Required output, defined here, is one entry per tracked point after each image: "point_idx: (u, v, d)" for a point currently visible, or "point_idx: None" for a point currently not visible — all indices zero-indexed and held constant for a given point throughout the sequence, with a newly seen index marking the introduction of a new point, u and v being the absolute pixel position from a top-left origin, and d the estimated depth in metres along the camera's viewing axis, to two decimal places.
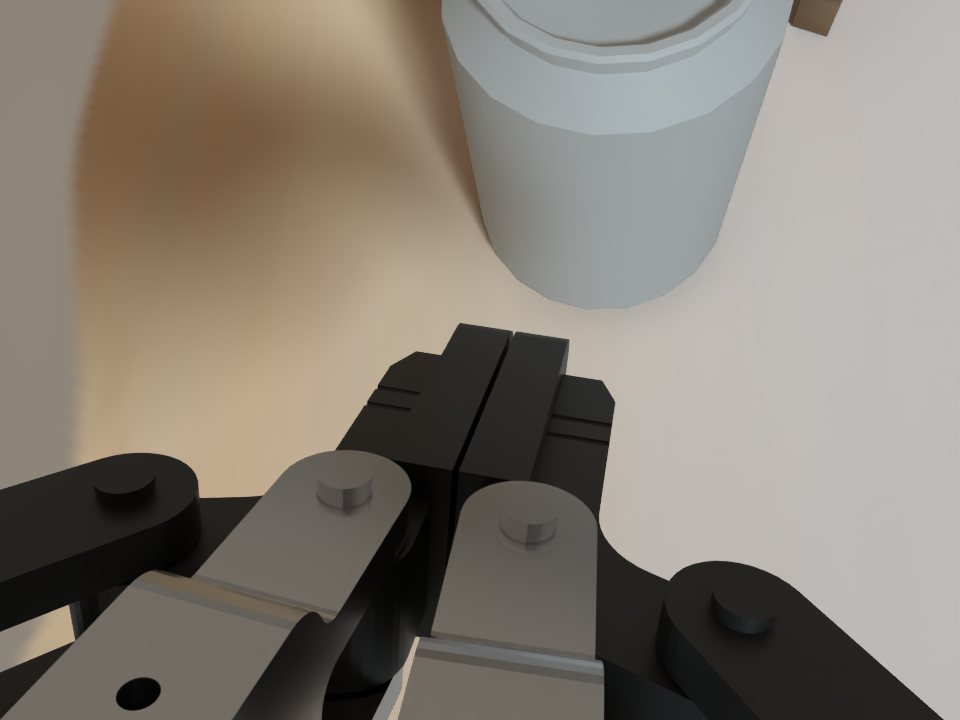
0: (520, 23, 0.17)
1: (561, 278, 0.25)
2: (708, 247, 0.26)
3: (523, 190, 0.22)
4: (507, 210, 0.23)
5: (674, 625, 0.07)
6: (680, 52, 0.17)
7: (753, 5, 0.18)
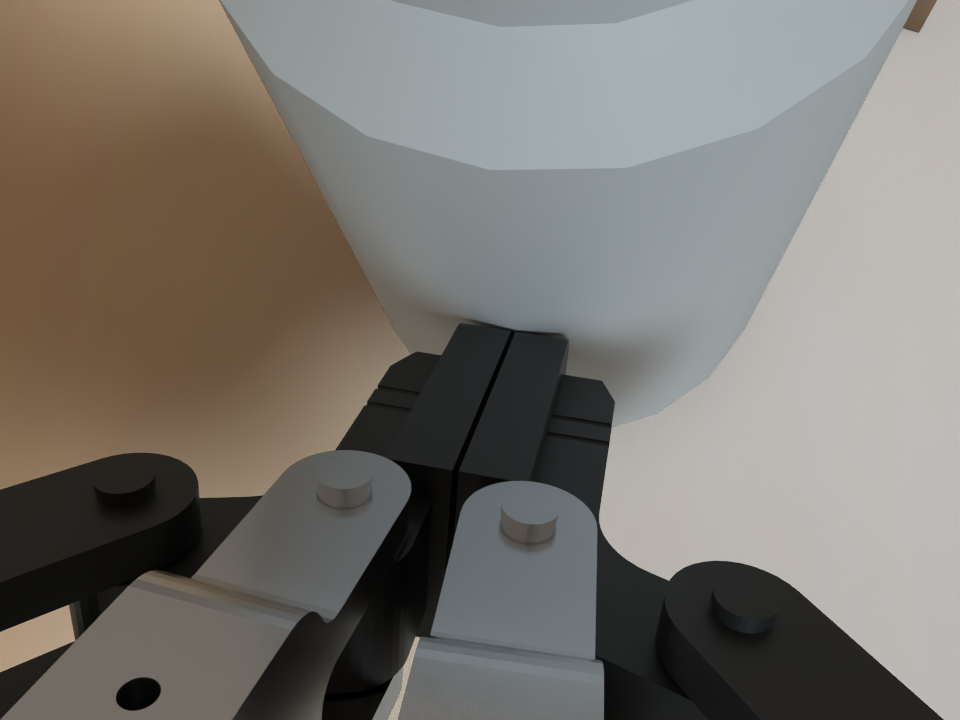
0: None
1: None
2: (732, 341, 0.16)
3: (389, 257, 0.11)
4: (378, 283, 0.13)
5: (673, 626, 0.07)
6: None
7: None
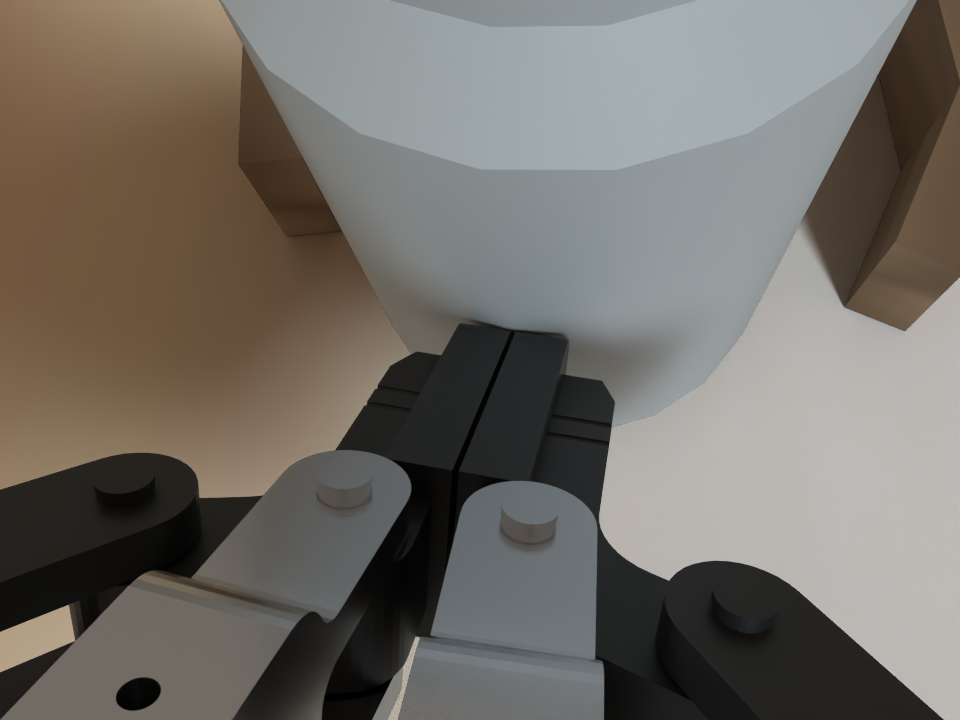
0: None
1: None
2: (730, 344, 0.16)
3: (384, 254, 0.11)
4: (375, 280, 0.13)
5: (673, 626, 0.07)
6: None
7: None
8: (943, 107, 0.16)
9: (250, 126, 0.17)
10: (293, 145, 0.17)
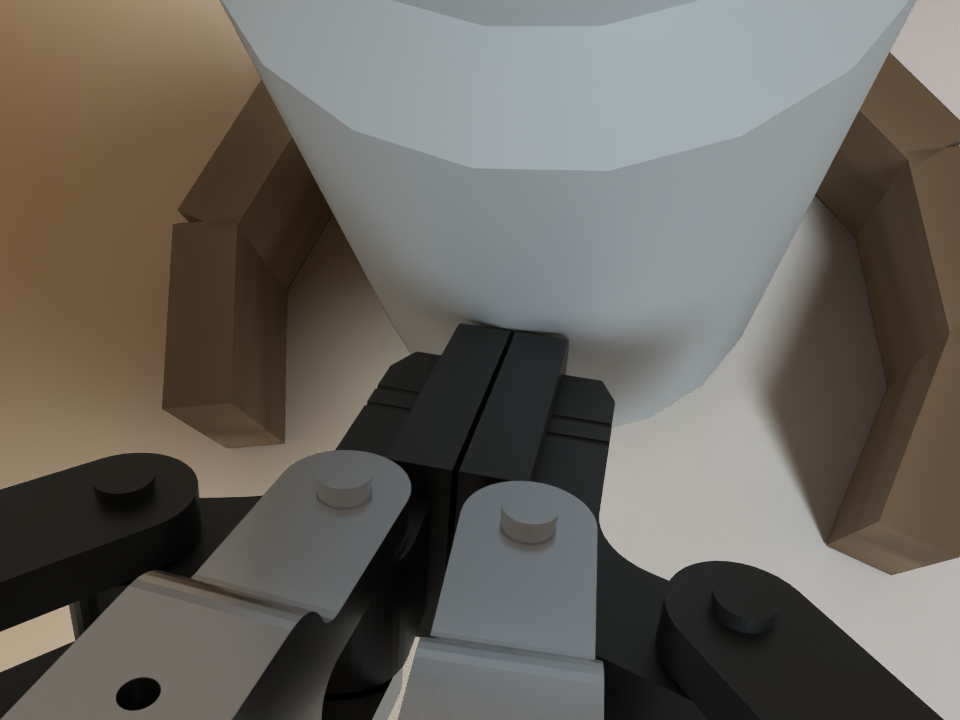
0: None
1: None
2: (728, 347, 0.16)
3: (380, 252, 0.11)
4: (372, 277, 0.13)
5: (674, 626, 0.07)
6: None
7: None
8: (931, 347, 0.15)
9: (176, 364, 0.16)
10: (222, 388, 0.15)
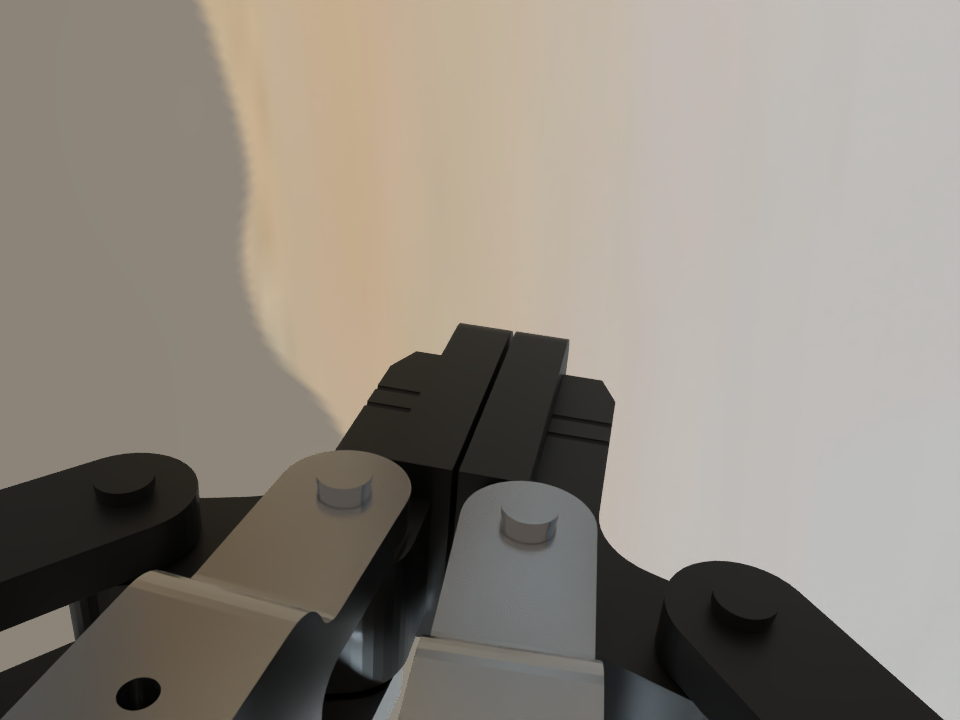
0: None
1: None
2: None
3: None
4: None
5: (673, 625, 0.07)
6: None
7: None
8: None
9: None
10: None
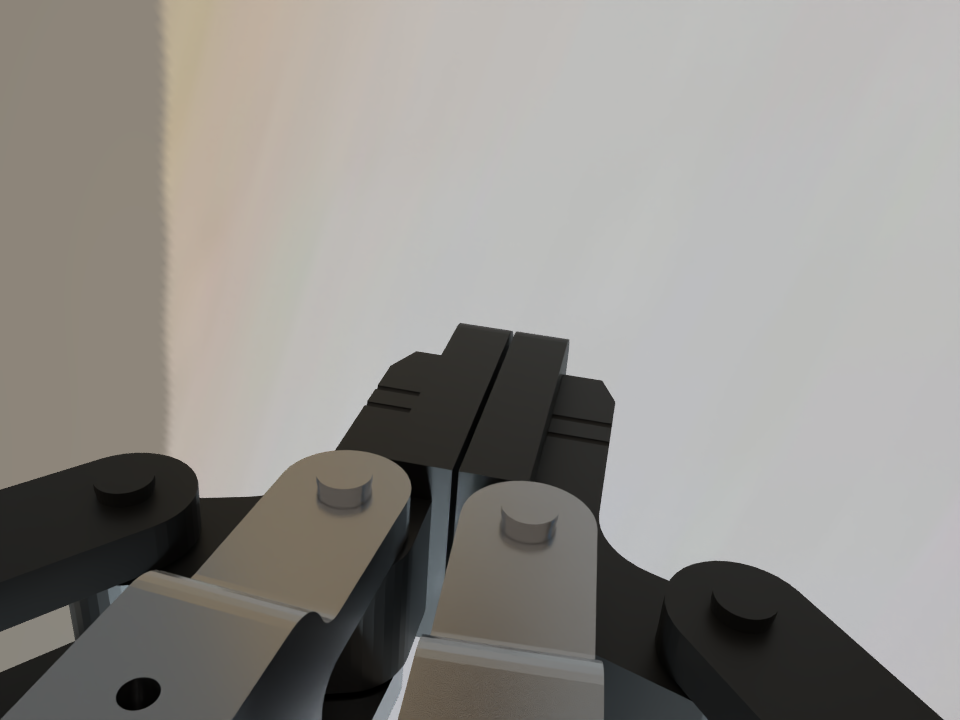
0: None
1: None
2: None
3: None
4: None
5: (674, 626, 0.07)
6: None
7: None
8: None
9: None
10: None
